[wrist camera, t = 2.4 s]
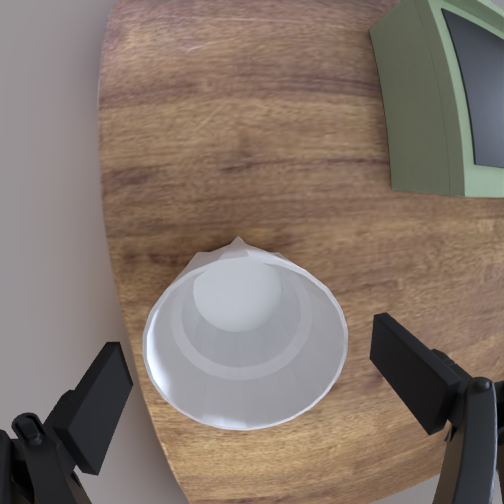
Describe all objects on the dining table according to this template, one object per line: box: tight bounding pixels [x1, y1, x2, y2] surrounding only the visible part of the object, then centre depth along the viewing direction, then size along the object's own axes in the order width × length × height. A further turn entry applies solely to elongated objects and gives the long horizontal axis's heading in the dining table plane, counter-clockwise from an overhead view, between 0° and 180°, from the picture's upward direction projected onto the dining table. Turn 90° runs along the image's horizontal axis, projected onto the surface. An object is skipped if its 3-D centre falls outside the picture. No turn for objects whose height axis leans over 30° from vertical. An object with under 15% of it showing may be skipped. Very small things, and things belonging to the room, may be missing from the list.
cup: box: [143, 235, 348, 430], centre depth 18 cm, size 10×10×10 cm
